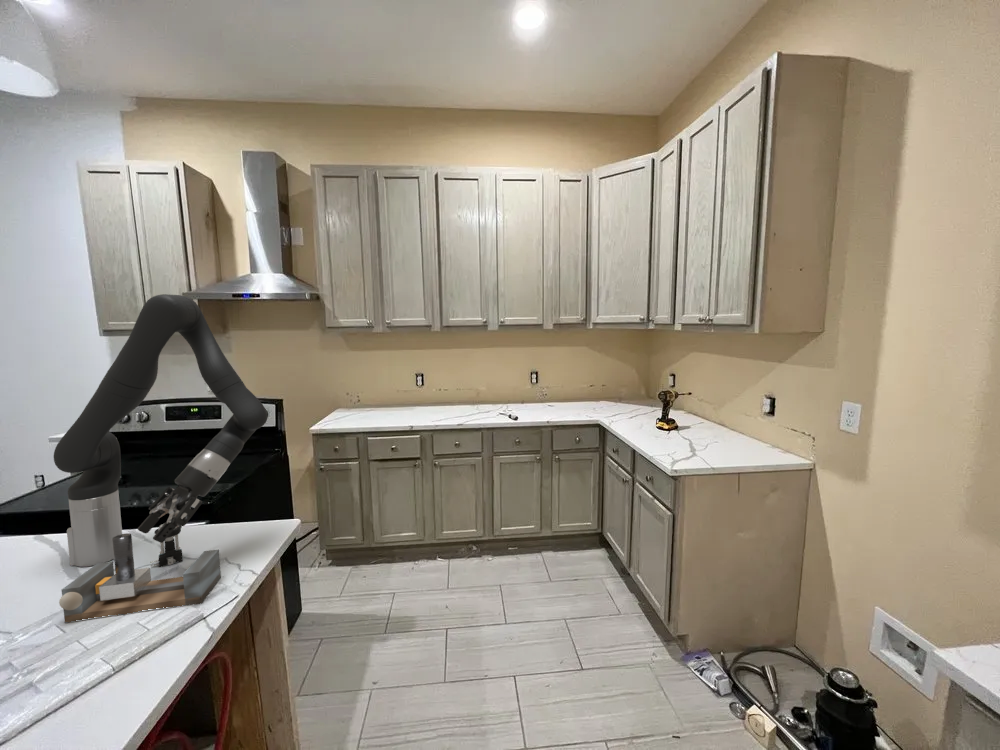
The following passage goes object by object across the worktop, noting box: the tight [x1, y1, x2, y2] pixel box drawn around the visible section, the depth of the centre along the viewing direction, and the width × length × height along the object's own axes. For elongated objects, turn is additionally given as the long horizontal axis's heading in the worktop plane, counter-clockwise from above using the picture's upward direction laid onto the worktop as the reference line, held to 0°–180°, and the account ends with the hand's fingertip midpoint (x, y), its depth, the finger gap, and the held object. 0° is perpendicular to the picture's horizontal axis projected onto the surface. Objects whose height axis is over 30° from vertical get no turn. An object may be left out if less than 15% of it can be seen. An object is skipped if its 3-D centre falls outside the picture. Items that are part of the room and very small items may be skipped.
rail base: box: [58, 548, 222, 623], centre depth 90 cm, size 24×10×7 cm, turn 104°
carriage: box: [99, 532, 152, 601], centre depth 89 cm, size 6×6×12 cm
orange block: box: [95, 577, 111, 594], centre depth 88 cm, size 2×3×2 cm, turn 14°
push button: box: [149, 522, 184, 568], centre depth 105 cm, size 7×5×10 cm
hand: (149, 536), depth 93 cm, fingers open, 8 cm apart
